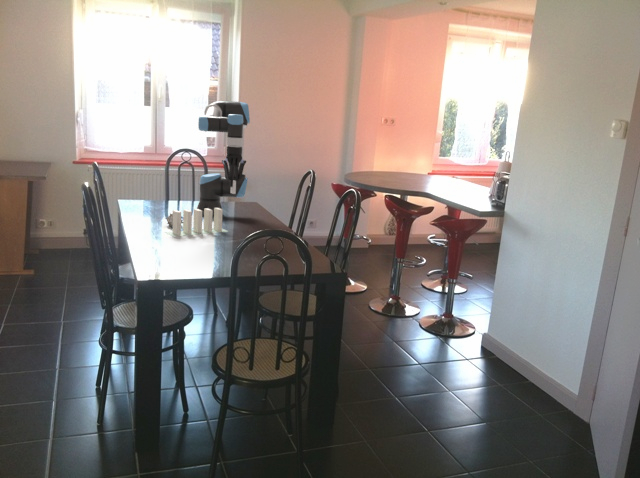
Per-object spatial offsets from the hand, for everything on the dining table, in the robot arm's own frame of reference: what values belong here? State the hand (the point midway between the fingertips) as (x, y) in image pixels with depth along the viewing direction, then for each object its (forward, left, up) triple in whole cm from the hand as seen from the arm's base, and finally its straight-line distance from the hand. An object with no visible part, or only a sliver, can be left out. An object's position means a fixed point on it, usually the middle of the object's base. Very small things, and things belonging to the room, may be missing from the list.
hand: (233, 193), depth 297 cm
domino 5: (+8, 0, -18) cm, 20 cm away
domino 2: (+24, 0, -18) cm, 31 cm away
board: (+19, 0, -19) cm, 27 cm away
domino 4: (+13, 0, -18) cm, 23 cm away
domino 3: (+19, 0, -18) cm, 26 cm away
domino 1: (+30, 0, -18) cm, 35 cm away
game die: (+24, -16, -20) cm, 35 cm away
